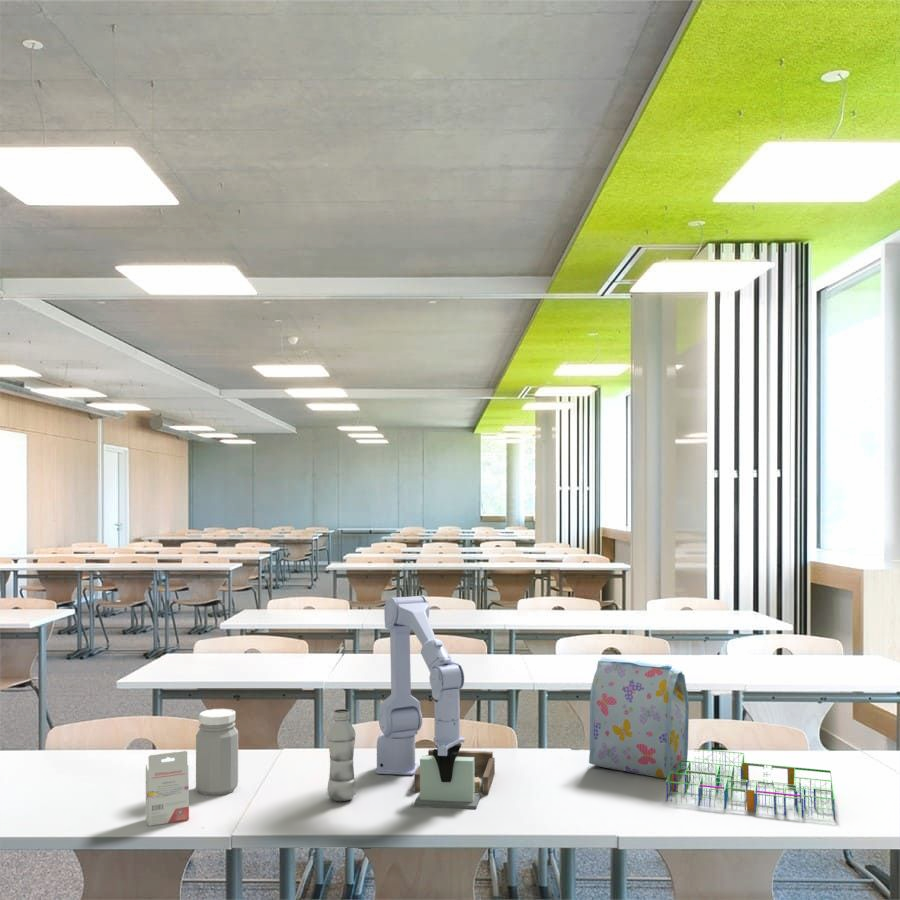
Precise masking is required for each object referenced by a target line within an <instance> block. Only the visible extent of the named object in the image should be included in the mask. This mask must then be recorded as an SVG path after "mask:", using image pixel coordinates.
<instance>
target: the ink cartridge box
mask: <svg viewBox="0 0 900 900" xmlns="http://www.w3.org/2000/svg"><path fill="white" fill-rule="evenodd" d="M167 758H169V759H174V760H170V761H162V760H165V759H167ZM147 761H148V764H147V763H146V764H145V821H146V823H147V826H157V825H164V824H165V825H166V824H170V823H177V822H182V821H188V820H190V814H189V813H190V801H189V800H190V799H189V798H190V793H189V792H190V790H189V789H190V788H189V785H190V784H189V782H190V781H189V779H190V778H189V771H190V769H189V765H188V751H186V750H183V751H182V750H181V751H174V752H172V751H171V752H165V753H157V754H150V755H149V756H148V760H147Z"/></svg>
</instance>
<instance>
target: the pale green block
mask: <svg viewBox="0 0 900 900" xmlns="http://www.w3.org/2000/svg"><path fill="white" fill-rule="evenodd" d="M419 766H420V792H419V793H420V800H438V801H461V802H473V801H474V798H475V794H476V793H475V777H476V775H475V774H476V773H475V767H474V757H456V758H455V762H454V766H453V774H452V779H451V782H442V781H441V778H440V773H439V768H438V765H437V762H436V759H435V758H434V756H426V754H424V755H421V757H420V759H419Z"/></svg>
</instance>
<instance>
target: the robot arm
mask: <svg viewBox="0 0 900 900" xmlns="http://www.w3.org/2000/svg"><path fill="white" fill-rule="evenodd" d="M383 607H384V609H383V610H384V616H383V617H384V628H385V629H387V630H389V638H390V639H389V644H390V648H389V649H390V651H389V652H390V653H389V654H390V693H391V694H390V695H389V696H388V697H386V698H385V699H383V701H382V702H380V707H379V708H380V712H379V715H378V725H379V728H380V730H381V733H380V734H378V736H377V741H376V771H375V773H376V774H378V775H380V774H381V775H405V776H410V775H411V776H414V774H415V773H416V771H417V769H418V768H419V766H420V763H416V735H418V732H419V731H420V730H421V728H422V725H423V715H422V711H421V702H420V701H419V699H417V698H416V697H414V696H413V695H412V685H411V684H412V683H411V682H412V681H411V680H412V679H411V636H410V635H411V631H413V633H414V635H415V636H416V638H417V640H418V641H419V643H420V644H421V649H420V653H421V656H422V659H423V661H424V662H425V665H426V667H427V669H428V671H429V683H430V684H429V685H430V687H431V696H432V698H433V699H434V700H433V701H434V702H433V703H434V705H433V706H434V711H433V712H434V721H433V722H434V737H433V743H434V744H435V746H436V748H434V749H432V750H433V756H434V758H435V759H436V762H437V765H438V768H439V773H440V778H441V781H442V782H451V779H452V774H453V766H454V762H455V758H456V757H457V755H458V752H459V751H461V750H460V749H461V748H462V744H463V743H465V741H466V738H465V737H464V736H463V737H461V735H460V734H461V730H460V728H461V726H460V725H461V724H460V723H461V722H460V717H461V716H460V715H461V714H460V709H461V708H460V707H461V706H460V690H462V688H463V687H464V684H465V673H464V669H463V668H462V665H461V664H460V663H459V662H456V660H453V659H452V657H451V656H450V653H449V651H448V650H447V648H446V646H445V644H444V642H443V641H442V640H441V639H437V638H436V634H435V633H434V630H433V627H432V625H431V622H430V620H429V617H430V604H429V601H428V599H427V598H426V596H425V595H423V594H420V595H414V596H400V597H399V596H397V597H393V596H390V597H388V599H387V600H386V602H385V603H384V606H383Z"/></svg>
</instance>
